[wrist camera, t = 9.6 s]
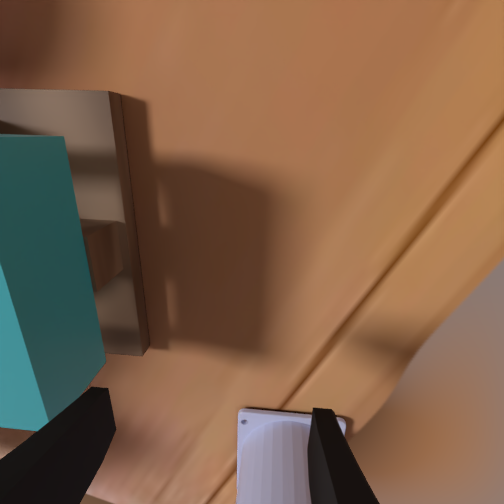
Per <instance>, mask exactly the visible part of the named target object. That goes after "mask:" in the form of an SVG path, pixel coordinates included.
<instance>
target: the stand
mask: <svg viewBox="0 0 504 504" xmlns="http://www.w3.org/2000/svg"><path fill="white" fill-rule="evenodd" d="M0 134H16V135H45V136H64V139H65V144H66V150H67V155H68V160H69V166H70V171H71V176H72V181H73V187H74V192H75V197H76V203H77V208H78V213H79V219H80V224H81V229H82V235H83V240H84V245H85V251H86V256H87V261H88V267H89V272H90V277H91V283H92V288H93V293H94V299H95V304H96V309H97V315H98V320H99V325H100V331H101V336H102V341H103V347H104V352H105V353H109V354H121V355H133V356H143V355H144V354H145V352H146V350H147V349H148V347H149V345H150V342H149V333H148V325H147V316H146V308H145V299H144V291H143V282H142V274H141V265H140V257H139V248H138V240H137V231H136V223H135V215H134V206H133V198H132V189H131V181H130V172H129V164H128V155H127V147H126V138H125V130H124V121H123V113H122V104H121V96H120V94H118V93H114V92H110V91H89V90H45V89H2V88H0Z"/></svg>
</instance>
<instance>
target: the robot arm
mask: <svg viewBox="0 0 504 504" xmlns="http://www.w3.org/2000/svg"><path fill="white" fill-rule="evenodd" d="M115 431H116V426H115V421H114V415H113V410H112V405H111V400H110V395H109V390H108V388H100V387H91V388H90V389H88V390H87V391H86V392H85V393H83V394H82V395H81V396H80V397H79V398H77V399H76V400H75V401H74V402H72V403H71V404H70V405H69V406H68V407H66V408H65V409H64V410H63V411H62V412H60V413H59V414H58V415H57V416H55V417H54V418H53V419H52V420H51V421H49V422H48V423H47V424H46V425H44V426H43V427H42V428H41V429H39V430H38V431H37V432H36V433H34V434H33V435H32V436H31V437H29V438H28V439H27V440H26V441H24V442H23V443H22V444H20V445H19V446H18V447H16V448H15V449H14V450H12V451H11V452H10V453H8V454H7V455H6V456H5V457H3V458H2V459H1V460H0V504H80V502H81V500H82V498H83V497H84V495H85V493H86V491H87V490H88V488H89V486H90V484H91V482H92V480H93V479H94V477H95V475H96V473H97V471H98V469H99V468H100V466H101V464H102V462H103V460H104V457H105V455H106V453H107V451H108V448H109V446H110V443H111V441H112V439H113V436H114V434H115ZM345 431H346V422H345V420H344V419H343V418H340V417H336V416H335V413H334V412H333V410H332V409H323V408H313V412H312V415H309V414H298V413H288V412H277V411H267V410H257V409H246V408H244V409H240V410H239V413H238V447H237V498H236V504H379V502H378V500H377V498H376V497H375V495H374V493H373V491H372V489H371V488H370V486H369V484H368V482H367V481H366V478H365V476H364V475H363V473H362V471H361V469H360V467H359V465H358V463H357V461H356V459H355V457H354V455H353V453H352V452H351V449H350V447H349V445H348V443H347V441H346V439H345V437H344V435H345Z"/></svg>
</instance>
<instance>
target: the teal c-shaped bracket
mask: <svg viewBox="0 0 504 504" xmlns="http://www.w3.org/2000/svg"><path fill="white" fill-rule="evenodd" d="M105 363H106V357H105V352H104V347H103V341H102V336H101V331H100V325H99V320H98V315H97V309H96V304H95V299H94V293H93V288H92V283H91V277H90V272H89V267H88V261H87V256H86V251H85V245H84V240H83V235H82V229H81V224H80V219H79V213H78V208H77V203H76V197H75V192H74V187H73V181H72V176H71V171H70V166H69V160H68V155H67V150H66V144H65V139H64V136H45V135H16V134H0V427H3V428H12V429H22V430H31V431H38V430H39V429H41V428H42V427H43V426H44V425H46V424H47V423H48V422H49V421H51V420H52V419H53V418H54V417H55V416H57V415H58V414H59V413H60V412H62V411H63V410H64V409H65V408H66V407H68V406H69V405H70V404H71V403H72V402H74V401H75V400H76V399H77V398H79V397H80V395H81V394H82V393H83V392H84V390H85V389H86V388H87V386H88V385H89V384H90V382H91V381H92V380H93V378H94V377H95V376H96V374H97V373H98V372H99V370H100V369H101V368H102V367H103V365H104V364H105Z"/></svg>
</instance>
